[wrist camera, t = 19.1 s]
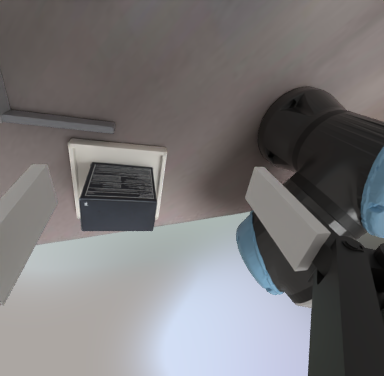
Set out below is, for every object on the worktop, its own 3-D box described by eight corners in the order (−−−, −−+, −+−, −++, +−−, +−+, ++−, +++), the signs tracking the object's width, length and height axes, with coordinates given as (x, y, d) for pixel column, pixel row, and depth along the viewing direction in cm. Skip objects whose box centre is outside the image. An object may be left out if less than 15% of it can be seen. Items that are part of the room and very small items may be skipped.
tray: (165, 147, 38) (167, 152, 36) (157, 212, 46) (157, 219, 44) (71, 138, 34) (67, 143, 32) (79, 211, 42) (77, 219, 40)
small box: (92, 192, 39) (79, 233, 31) (90, 160, 36) (76, 197, 27) (150, 195, 42) (153, 233, 34) (153, 166, 39) (158, 201, 30)
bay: (114, -21, 25) (112, -27, 23) (115, 128, 35) (113, 134, 32) (-46, -68, 21) (-70, -83, 19) (4, 115, 30) (-8, 122, 28)
